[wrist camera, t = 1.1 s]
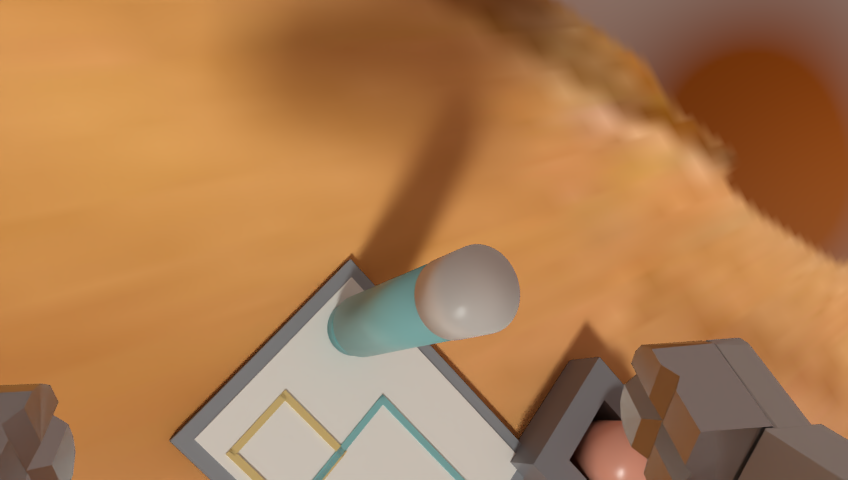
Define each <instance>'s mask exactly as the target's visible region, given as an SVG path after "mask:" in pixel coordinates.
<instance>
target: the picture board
mask: <svg viewBox="0 0 848 480" xmlns="http://www.w3.org/2000/svg"><path fill="white" fill-rule="evenodd" d="M374 286H375V285H374V284H373V283H372V282H371V281H370V280H369V279H368V277H367V276H366V275H365V274H364V273H363V272H362V271H361V270H360V269H359V268H358V267H357V266H356V265H355V263H354V262H353V261H352V260H351V259H350V260H348V261H347V262H346V263H345V264H344V265H343V266H342V267H341V268H340V269H339V270H338V271H337V272H336V273H335V274H334V275H333V276H332V277H331V278H330V279H329V280H328V281H327V282H326V283H325V284H324V285H323V286H322V287H321V288H320V289H319V290H318V291H317V292H316V293H315V294H314V295H313V296H312V297H311V298H310V299H309V300H308V301H307V302H306V303H305V304H304V305H303V306H302V307H301V308H300V309H299V310H298V311H297V312H296V313H295V314H294V315H293V316H292V317H291V318H290V319H289V320H288V321H287V322H286V323H285V324H284V325H283V326H282V327H281V328H280V329H279V330H278V331H277V332H276V333H275V334H274V335H273V336H272V337H271V338H270V339H269V340H268V341H267V343H266V344H265V345H264V346H263V347H262V348H261V349H260V350H259V351H258V352H257V353H256V354H255V355H254V356H253V357H252V358H251V359H250V360H249V361H248V362H247V363H246V364H245V365H244V366H243V367H242V368H241V369H240V370H239V371H238V372H237V373H236V374H235V375H234V376H233V377H232V378H231V379H230V380H229V381H228V382H227V383H226V384H225V385H224V386H223V387H222V388H221V389H220V390H219V391H218V392H217V393H216V394H215V395H214V396H213V397H212V398H211V399H210V400H209V401H208V402H207V403H206V404H205V405H204V406H203V407H202V408H201V409H200V410H199V411H198V412H197V413H196V414H195V415H194V416H193V417H192V418H191V419H190V420H189V421H188V422H187V423H186V424H185V425H184V426H183V427H182V428H181V429H180V430H179V431H178V432H177V433H176V434H175V435H174V436H173V437H172V438H171V439H170V440H169V441H170V442H171V443H172V444H173V445H174V446H175V447H176V448H177V449H178V450H179V451H181V452H182V453H183V454H184V455H185V456H186V457H187V458H188V459H189V460H190V461H191V462H192V463H193V464H194V465H195V466H196V467H197V468H199V469H200V470H201V471H202V472H203V473H204V474H205V475H206V476H207V477H208V478H209V479H210V480H523V479H524V477H523V476H522V475H521V474H520V473H519V472H518V471H517V469H516V468H515V467H514V466H513V465H512V464H511V460H512V458H513V457H514V455H515V454H516V453H515V452H516V451H517V449H518V447H519V446H520V444H521V443H520V442H519V441H518V439H517V438H516V437H515V436H514V435H513V434H512V433H511V432H510V431H509V430H508V429H507V428H506V427H505V425H504V424H503V423H502V422H501V421H500V420H499V419H498V418H497V417H496V416H495V415H494V414H493V412H492V411H491V410H490V409H489V408H488V407H487V406H486V405H485V404H484V403H483V402H482V401H481V400H480V398H479V397H478V396H477V395H476V394H475V393H474V392H473V391H472V390H471V389H470V388H469V387H468V385H467V384H466V383H465V382H464V381H463V380H462V379H461V378H460V377H459V376H458V375H457V374H456V373H455V371H454V370H453V369H452V368H451V367H450V366H449V365H448V364H447V363H446V362H445V361H444V360H443V358H442V357H441V356H440V355H439V354H438V353H437V352H436V351H435V350H434V349H433V348H432V347H431V346H430V345H425V346H420V347H415V348H410V349H405V350H400V351H395V352H390V353H385V354H380V355H374V356H369V357H357V356H350V355H346V354H343V353H341V352H339V351H338V350H337V349H336V348H335V347H334V346H333V345H332V343H331V341H330V339H329V336H328V332H327V324H328V320H329V317H330V315H331V313H332V312H333V310H334V309H335V308H336V307H338V306H339V305H340V304H341V303H342V302H343V301H344V300H345V299H347V298H349V297H351V296H353V295H355V294H358V293H360V292H362V291H365V290H367V289H370V288H372V287H374Z"/></svg>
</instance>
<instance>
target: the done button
mask: <svg viewBox="0 0 848 480" xmlns="http://www.w3.org/2000/svg"><path fill="white" fill-rule="evenodd" d="M570 462H571V463H572V464H573V465H574V466H575V467H576V468H577V469H578V470H579V472H580V473H581V474H582V475H583V476H584V477H585V478H586V479H587V480H646V478H645V475H644V470H645V466H646V462H647V458H645V457H644V456H643V455H641V454H640V453H639V452H637V451H636V450H635V449H633V448H632V447H631V445H630V443H629V441H628V439H627V436H626V434H625V432H624V428H623V424H622V421H614V420H592V422H591V424H590V425H589V427H588V429H587V430H586V432H585V434H584V436H583V437H582V439H581V441H580V443H579V444H578V446H577V448H576V449H575V451H574V453H573V455H572V456H571V458H570Z"/></svg>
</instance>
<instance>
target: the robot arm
mask: <svg viewBox="0 0 848 480" xmlns="http://www.w3.org/2000/svg"><path fill="white" fill-rule="evenodd" d="M631 364H632V366H633V368H634V370H635V372H636V375H635V376H634V377H633V378H632V379H630V380H629V381H628V382H627V383H626V384H624V388H623V392H622V395H621V399H620V409H621V420H622V424H623V428H624V432H625V434H626V436H627V439H628V441H629V443H630V445H631V447H632V448H633V449H635V450H636V451H637V452H639V453H640V454H641V455H643V456H644V457H645V458H647V462H646V466H645V470H644V475H645V478H646V480H848V440H847V439H846V438H844V437H842V436H840V435H839V434H837V433H835V432H834V431H832V430H830V429H829V428H827V427H825V426H824V425H822V424H815V425H811V424H810V422H809V421H808V420H807V419H806V417H805V416H804V415H803V413H802V412H801V411H800V409H799V408H798V407H797V406H796V404H795V403H794V402H793V400H792V399H791V398H790V397H789V395H788V394H787V393H786V391H785V390H784V389H783V387H782V386H781V385H780V384H779V382H778V381H777V380H776V378H775V377H774V376H773V375H772V373H771V372H770V371H769V369H768V368H767V367H766V365H765V364H764V363H763V362H762V360H761V359H760V358H759V356H758V355H757V354H756V352H755V351H754V350H753V349H752V347H751V346H750V345H749V344H748V343H747V342H745V341H744V340H742V339H741V338H730V339H716V340H706V341H702V340H700V341H687V342H673V343H660V344H647V345H641V346H640V347H639V348H638V349H637V350H636V351H635V354H634V357H633V360H632V363H631ZM57 404H58V400H57V398H56V396H55V394H54V392H53V390H52V388H51V386H50V385H47V384H18V385H0V480H71V478H72V475H73V469H74V460H75V446H74V439H73V435H72V432H71V430H70V428H69V425H68V424H67V423H65V422H64V421H62V420H60V419H59V418H57V417H55V416H54V415H53V414H54V411H55V409H56V407H57Z"/></svg>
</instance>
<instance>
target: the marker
mask: <svg viewBox="0 0 848 480" xmlns="http://www.w3.org/2000/svg"><path fill="white" fill-rule="evenodd" d="M519 301H520V289H519V283H518V279H517V276H516V273H515V271H514V269H513V267H512V266H511V264H510V263H509V261H508V260H507V259H506V258H505V257H504V256H503V255H502V254H501V253H500V252H499V251H497V250H495V249H494V248H491V247H489V246H486V245H481V244H474V245H469V246H465V247H463V248H461V249H458V250H456V251H454V252H451V253H449V254H447V255H444V256H442V257H440V258H437V259H435V260H433V261H431V262H430V263H428V264H426V265H424V266H421V267H419V268H417V269H414V270H412V271H410V272H407V273H405V274H403V275H400V276H398V277H395V278H393V279H391V280H388V281H386V282H384V283H381V284H379V285H377V286H374V287H372V288H370V289H367V290H365V291H362V292H360V293H358V294H355V295H353V296H351V297H349V298H347V299H345V300H344V301H343V302H342V303H341V304H340V305H339V306H338V307H336V308H335V309H334V310H333V312H332V313H331V315H330V317H329V320H328V324H327V332H328V336H329V339H330V341H331V343H332V345H333V346H334V347H335V348H336V349H337V350H338V351H339V352H341V353H343V354H346V355H350V356H357V357H369V356H374V355H380V354H385V353H390V352H395V351H400V350H405V349H410V348H415V347H420V346H425V345H430V344H435V343H440V342H446V341H451V340H462V339H467V338H472V337H477V336H482V335H488V334H492V333H496V332H499V331H501V330H503V329H504V328H505V327H507V326H508V325H509V324H510V323H511V321H512V320H513V318H514V317H515V315H516V312H517V310H518V306H519Z"/></svg>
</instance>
